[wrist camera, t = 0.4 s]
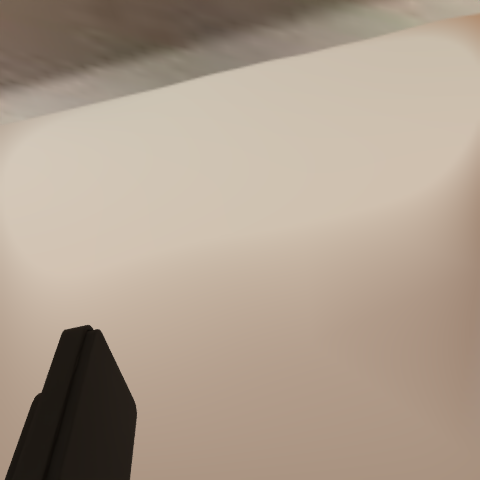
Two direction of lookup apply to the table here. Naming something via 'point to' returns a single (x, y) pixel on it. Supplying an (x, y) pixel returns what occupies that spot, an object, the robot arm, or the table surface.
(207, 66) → the table surface
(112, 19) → the table surface
